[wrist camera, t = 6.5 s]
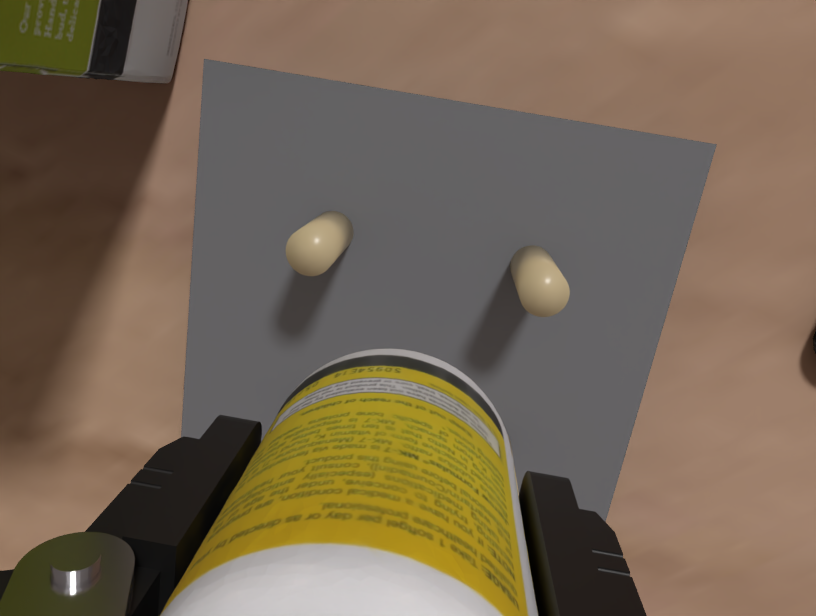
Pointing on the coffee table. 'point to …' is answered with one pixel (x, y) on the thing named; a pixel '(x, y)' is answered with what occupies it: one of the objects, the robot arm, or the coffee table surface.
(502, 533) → the supplement bottle
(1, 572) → the robot arm
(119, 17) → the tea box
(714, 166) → the coffee table surface
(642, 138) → the standoff chassis
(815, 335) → the phone
